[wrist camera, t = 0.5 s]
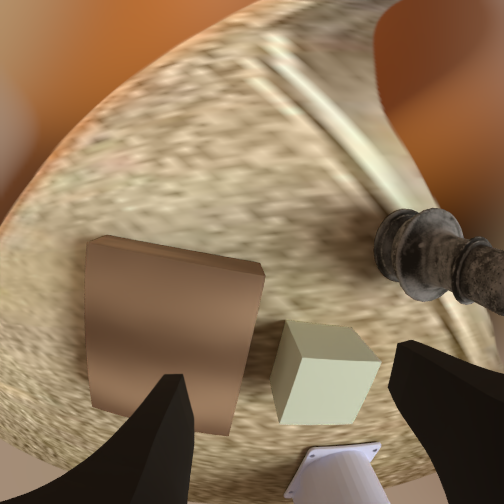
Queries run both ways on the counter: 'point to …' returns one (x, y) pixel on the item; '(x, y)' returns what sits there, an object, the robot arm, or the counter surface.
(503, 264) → the grey stone chess piece
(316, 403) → the sage block
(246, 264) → the walnut block
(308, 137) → the counter surface
